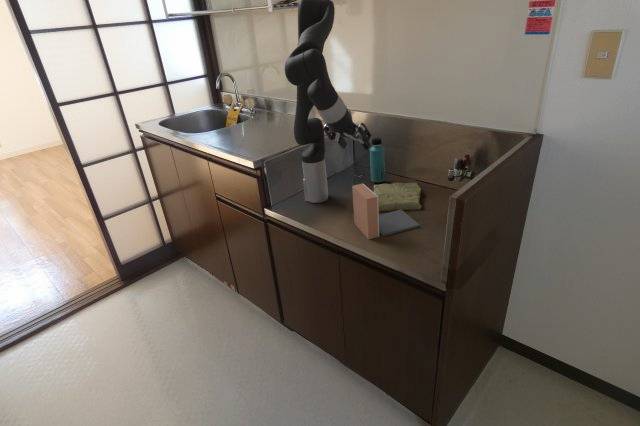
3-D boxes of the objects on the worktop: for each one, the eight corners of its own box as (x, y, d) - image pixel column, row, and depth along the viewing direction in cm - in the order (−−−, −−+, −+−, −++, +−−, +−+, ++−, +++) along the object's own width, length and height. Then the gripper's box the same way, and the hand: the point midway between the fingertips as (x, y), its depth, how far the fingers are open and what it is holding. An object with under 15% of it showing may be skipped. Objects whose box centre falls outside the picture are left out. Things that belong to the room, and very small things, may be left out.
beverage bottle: (382, 186, 165) (380, 141, 156) (368, 184, 168) (366, 140, 159) (388, 180, 170) (387, 136, 160) (374, 179, 173) (372, 135, 164)
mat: (382, 236, 129) (382, 234, 129) (366, 219, 140) (366, 217, 140) (419, 226, 132) (419, 224, 132) (401, 211, 143) (401, 209, 143)
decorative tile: (374, 212, 146) (374, 204, 144) (373, 190, 163) (373, 182, 162) (425, 210, 143) (425, 202, 142) (418, 188, 161) (418, 180, 159)
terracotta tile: (368, 239, 128) (366, 199, 121) (354, 223, 139) (352, 185, 132) (379, 236, 129) (378, 196, 122) (364, 221, 140) (362, 183, 133)
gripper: (360, 101, 106) (380, 138, 118) (319, 102, 114) (342, 136, 126) (349, 123, 103) (371, 158, 115) (309, 122, 112) (333, 155, 124)
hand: (356, 147), depth 121 cm, fingers open, 8 cm apart
